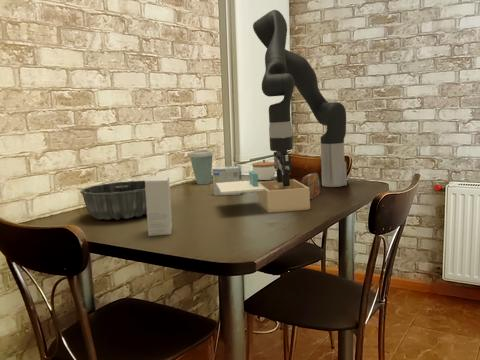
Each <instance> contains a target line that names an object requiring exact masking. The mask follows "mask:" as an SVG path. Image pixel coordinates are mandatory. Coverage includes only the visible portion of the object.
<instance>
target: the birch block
mask: <svg viewBox="0 0 480 360" xmlns="http://www.w3.org/2000/svg"><path fill="white" fill-rule="evenodd" d="M284 189H290V187H289V186H286V187H284V186H283V185H276V186H274V190H284Z"/></svg>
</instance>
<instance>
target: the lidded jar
mask: <svg viewBox="0 0 480 360" xmlns="http://www.w3.org/2000/svg"><path fill="white" fill-rule="evenodd" d="M252 171H254V172H256V173H257V174H258V180H270V181H272V180H271V179H273V178H274V177H275V175H276V173H277V172H276V170H275V168H274V161H266V159H262V161H259V162H253V163H252Z"/></svg>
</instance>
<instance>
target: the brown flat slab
mask: <svg viewBox="0 0 480 360" xmlns="http://www.w3.org/2000/svg"><path fill="white" fill-rule="evenodd" d="M301 183H302V184H303V185H305V186H307V187H309V192H310V200H314V199H315V198H316V197H318V196H319V195H320V194H321V193H320V192H321V179H320V175H319V173H318V172H314V173H312V172H311V173H309V174H307V175H305V176H303V177H302V179H301Z"/></svg>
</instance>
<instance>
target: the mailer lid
mask: <svg viewBox="0 0 480 360" xmlns="http://www.w3.org/2000/svg"><path fill="white" fill-rule="evenodd" d="M248 177H249V178H248V180H241V181H236V182H223V183H216V185H217V187H218V189H219V191H220V192H221V194H227V193H240V192H242V193H250V192H251V193H252V192H257V191H265V189H264V188H263V187H262V186H261V185H260V184H258V182H259V181H258V174H257V173H256V172H254V171H253V170H251V171H250V170H249V171H248Z"/></svg>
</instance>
